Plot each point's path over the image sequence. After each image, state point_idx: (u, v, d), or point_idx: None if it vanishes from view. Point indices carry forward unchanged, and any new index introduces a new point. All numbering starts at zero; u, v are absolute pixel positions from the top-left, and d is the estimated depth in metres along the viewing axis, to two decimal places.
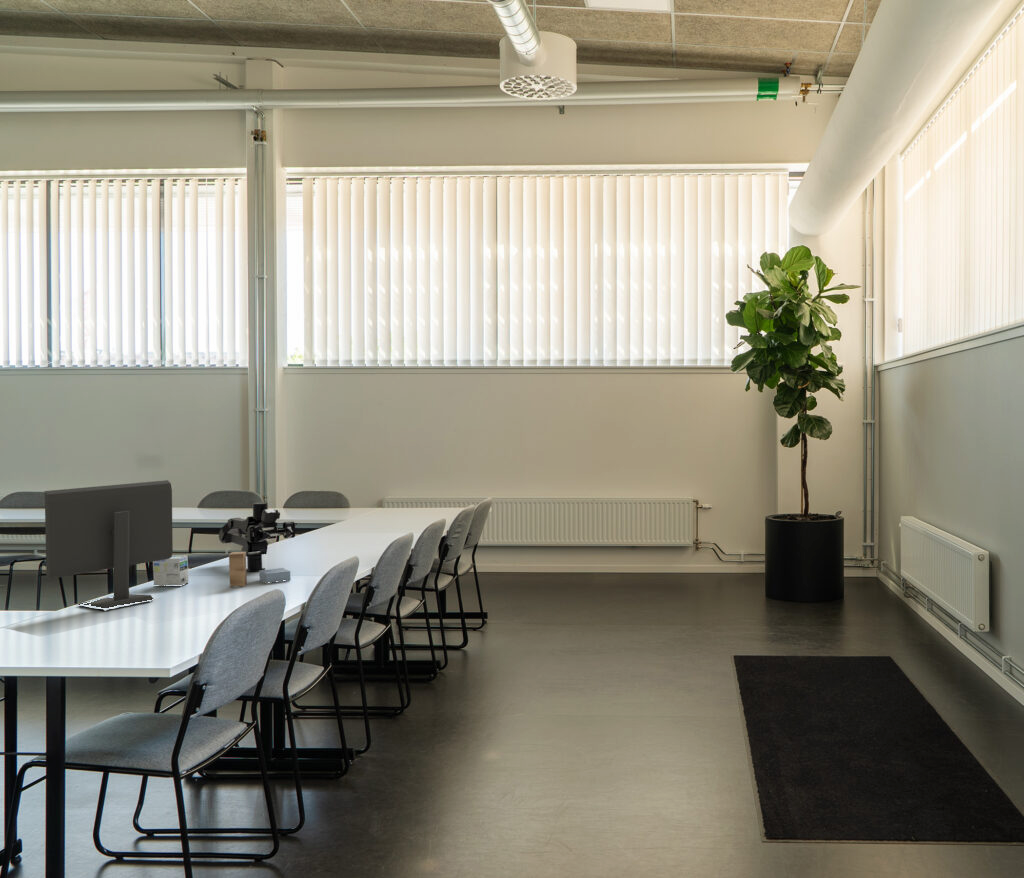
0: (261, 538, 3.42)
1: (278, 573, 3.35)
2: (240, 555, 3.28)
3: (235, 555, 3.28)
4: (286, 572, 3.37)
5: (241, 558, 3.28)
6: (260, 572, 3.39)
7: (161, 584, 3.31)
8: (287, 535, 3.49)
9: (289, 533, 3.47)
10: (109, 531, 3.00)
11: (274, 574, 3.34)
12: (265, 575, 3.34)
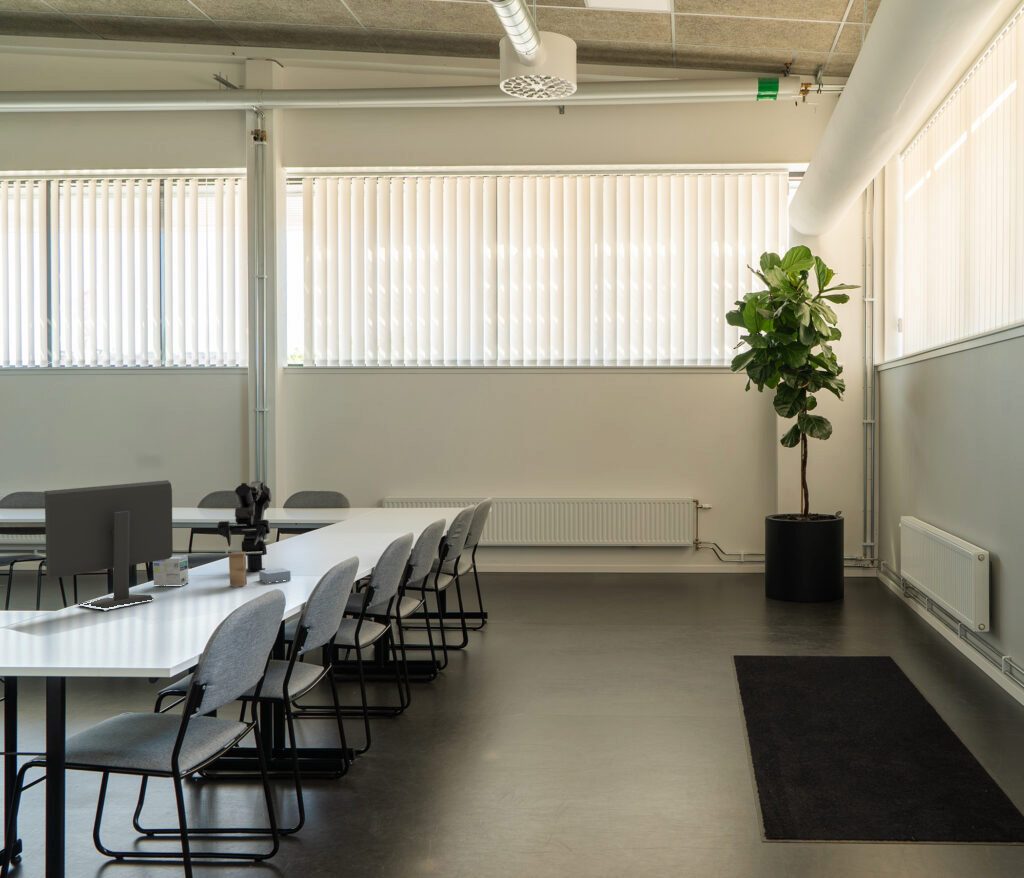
0: None
1: (278, 573, 3.35)
2: (240, 555, 3.28)
3: (235, 555, 3.28)
4: (286, 572, 3.37)
5: (241, 558, 3.28)
6: (260, 572, 3.39)
7: (161, 584, 3.31)
8: None
9: None
10: (109, 531, 3.00)
11: (274, 574, 3.34)
12: (265, 575, 3.34)
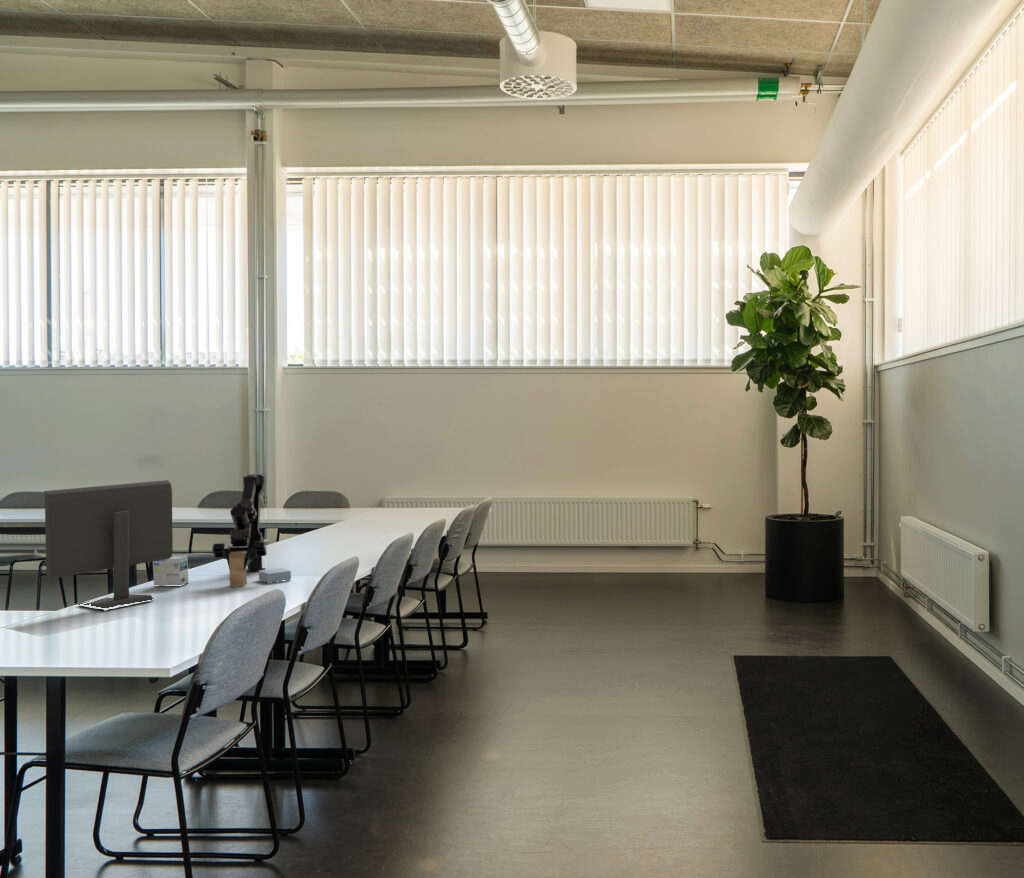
0: None
1: (279, 573, 3.35)
2: (240, 555, 3.28)
3: (235, 555, 3.28)
4: (287, 572, 3.37)
5: (241, 558, 3.28)
6: (260, 572, 3.39)
7: (161, 584, 3.31)
8: None
9: None
10: (109, 531, 3.00)
11: (275, 574, 3.34)
12: (266, 575, 3.34)
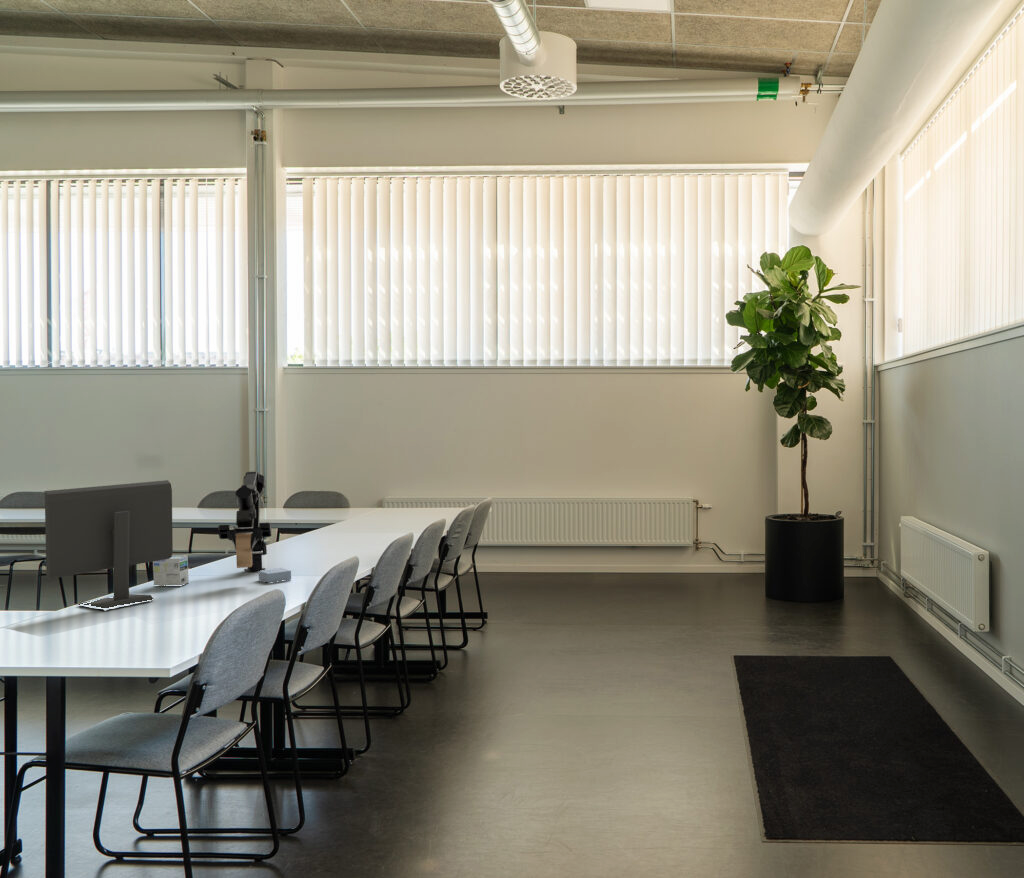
0: (233, 542, 3.33)
1: (279, 573, 3.35)
2: (247, 536, 3.29)
3: (242, 536, 3.28)
4: (287, 572, 3.37)
5: (248, 539, 3.29)
6: (260, 572, 3.39)
7: (161, 584, 3.31)
8: None
9: None
10: (109, 531, 3.00)
11: (275, 574, 3.34)
12: (266, 575, 3.34)
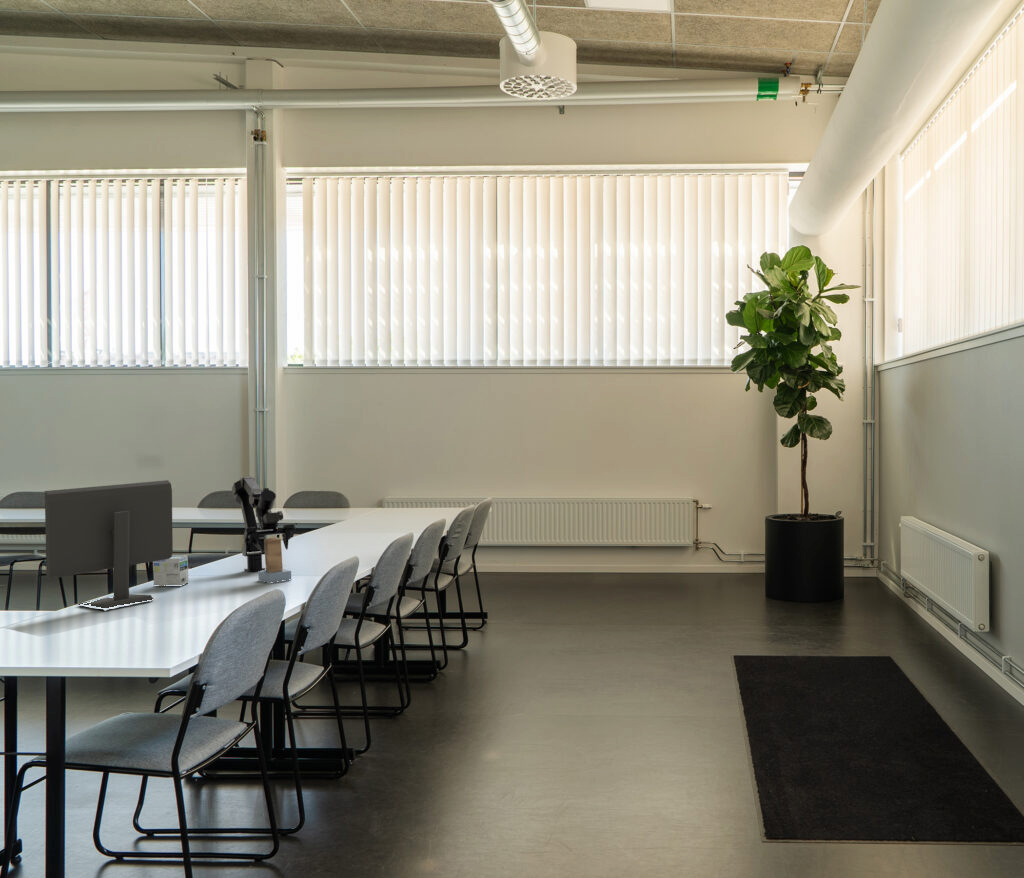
0: (255, 545, 3.38)
1: (279, 573, 3.35)
2: (278, 540, 3.37)
3: (273, 541, 3.36)
4: (287, 572, 3.37)
5: (279, 543, 3.37)
6: (260, 573, 3.38)
7: (161, 584, 3.31)
8: (283, 541, 3.44)
9: (285, 544, 3.41)
10: (109, 531, 3.00)
11: (276, 574, 3.34)
12: (267, 575, 3.34)
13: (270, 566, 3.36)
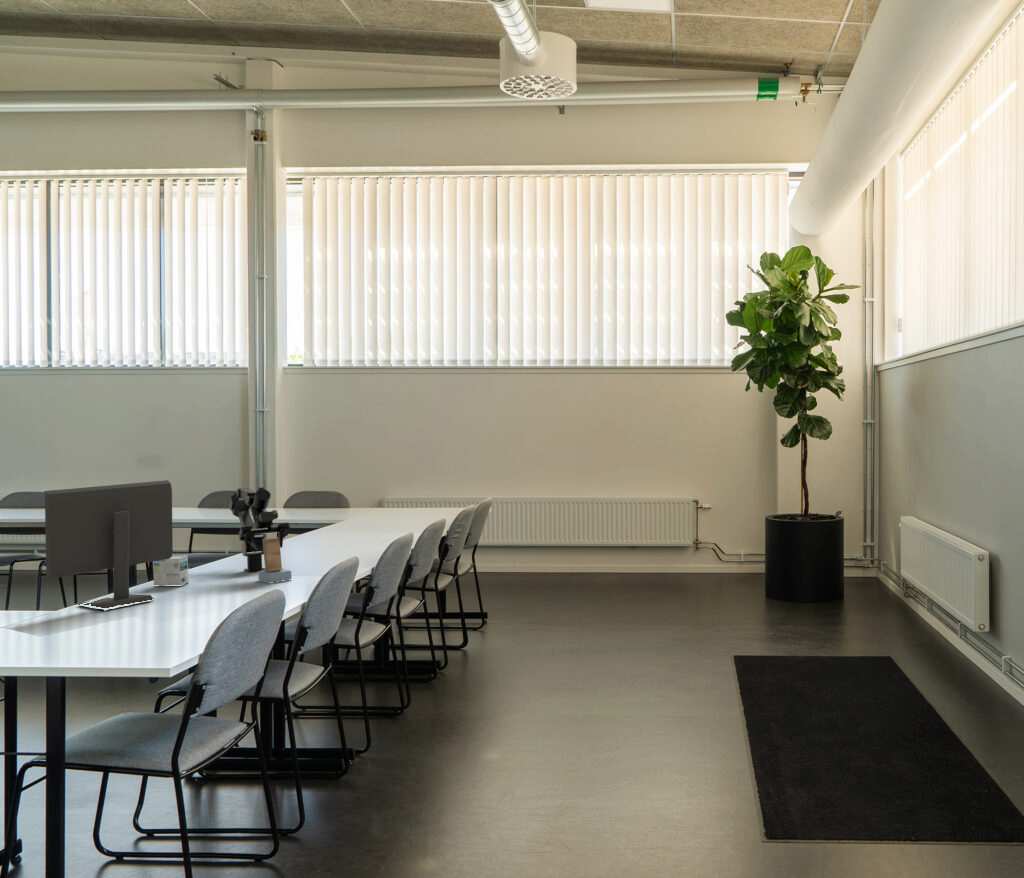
0: (250, 543, 3.43)
1: (280, 573, 3.35)
2: (276, 539, 3.37)
3: (272, 540, 3.37)
4: (287, 572, 3.37)
5: (278, 542, 3.38)
6: (260, 573, 3.38)
7: (161, 584, 3.31)
8: None
9: None
10: (109, 531, 3.00)
11: (276, 574, 3.35)
12: (267, 575, 3.34)
13: (269, 565, 3.36)
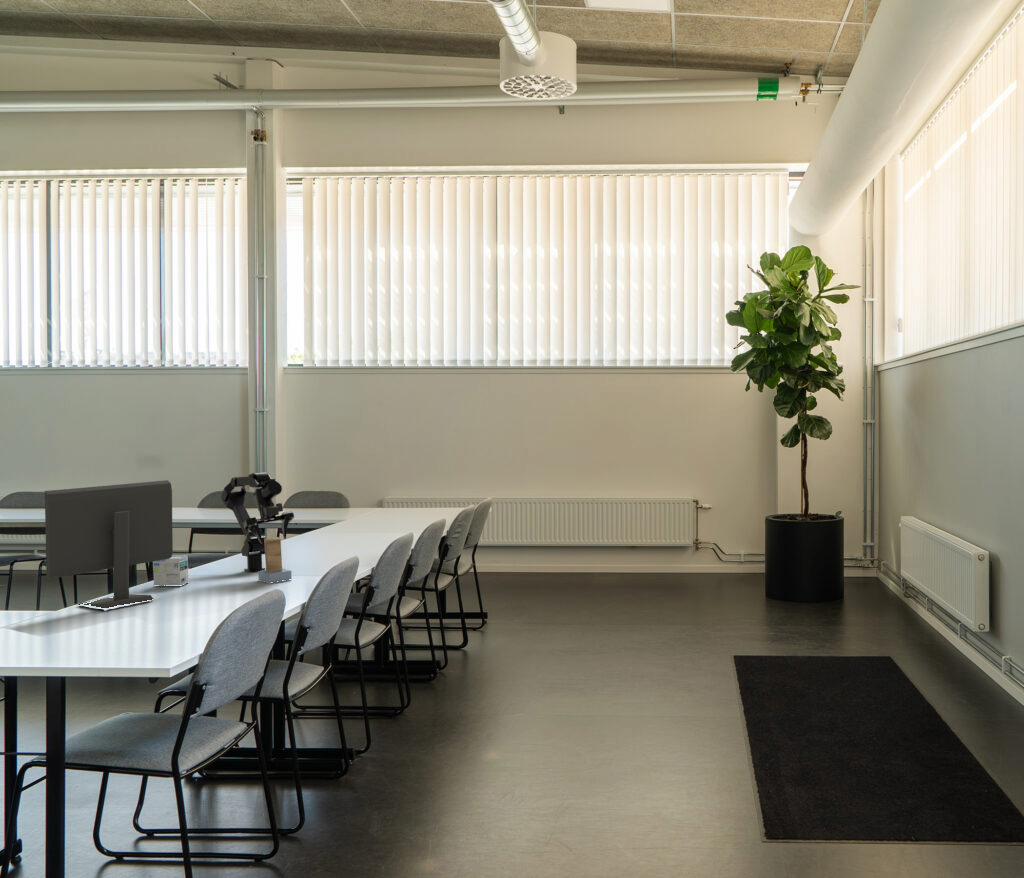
0: (255, 534, 3.49)
1: (280, 573, 3.35)
2: (278, 541, 3.36)
3: (273, 541, 3.35)
4: (287, 572, 3.37)
5: (279, 543, 3.36)
6: (260, 573, 3.38)
7: (161, 584, 3.31)
8: (282, 528, 3.55)
9: (283, 533, 3.54)
10: (109, 531, 3.00)
11: (276, 574, 3.35)
12: (267, 575, 3.34)
13: (269, 566, 3.35)
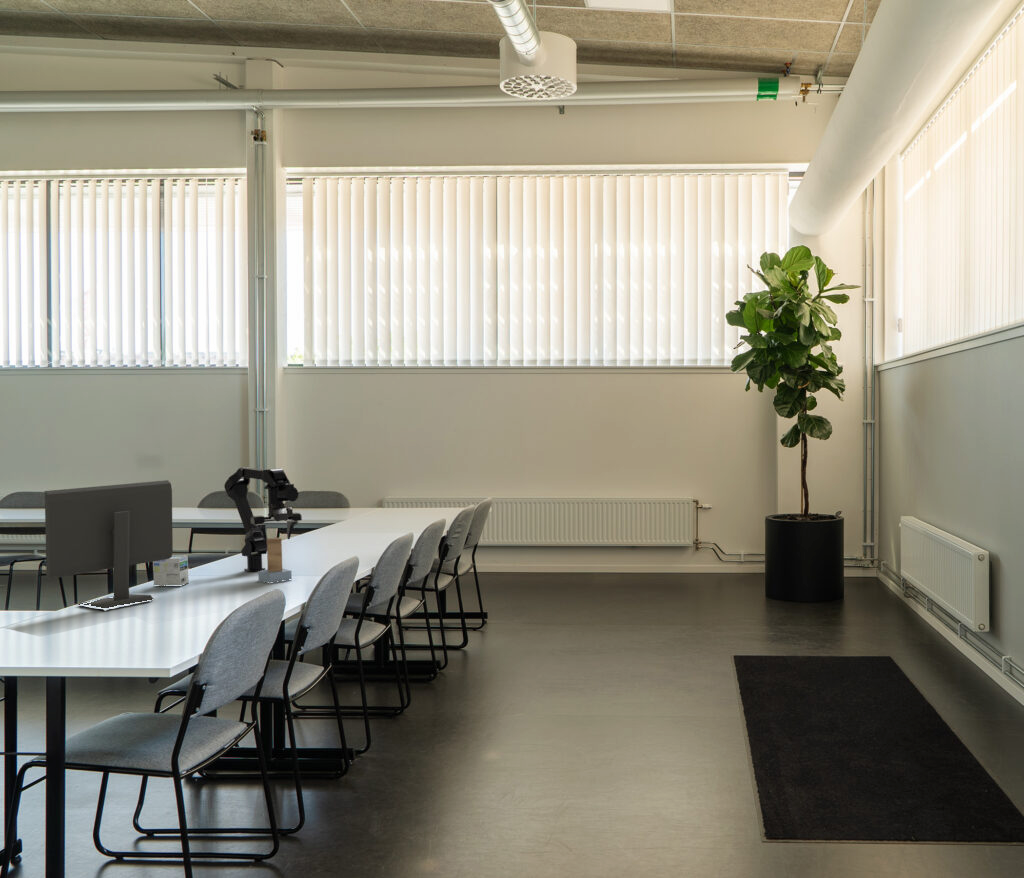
0: (260, 530, 3.51)
1: (280, 573, 3.36)
2: (278, 540, 3.37)
3: (274, 540, 3.37)
4: (287, 572, 3.38)
5: (279, 543, 3.37)
6: (260, 573, 3.38)
7: (161, 584, 3.31)
8: (287, 526, 3.57)
9: (287, 533, 3.56)
10: (109, 531, 3.00)
11: (276, 574, 3.35)
12: (267, 575, 3.34)
13: (270, 565, 3.36)
